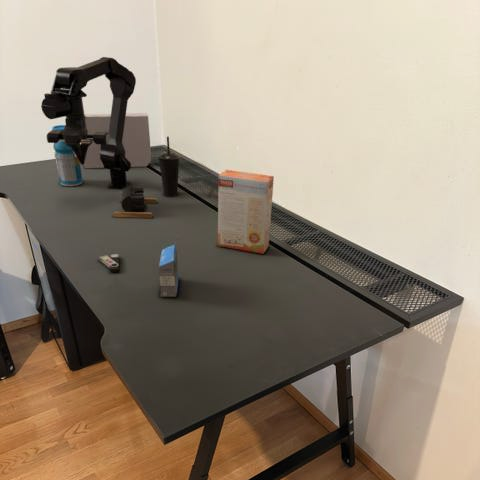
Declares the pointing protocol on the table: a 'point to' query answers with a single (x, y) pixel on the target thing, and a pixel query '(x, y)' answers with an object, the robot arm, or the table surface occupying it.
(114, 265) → the usb flash drive
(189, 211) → the table surface
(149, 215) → the brown flat block
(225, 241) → the cracker box
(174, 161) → the drinking cup
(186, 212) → the table surface
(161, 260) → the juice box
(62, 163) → the beverage bottle
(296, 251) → the table surface
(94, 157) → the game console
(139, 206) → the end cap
